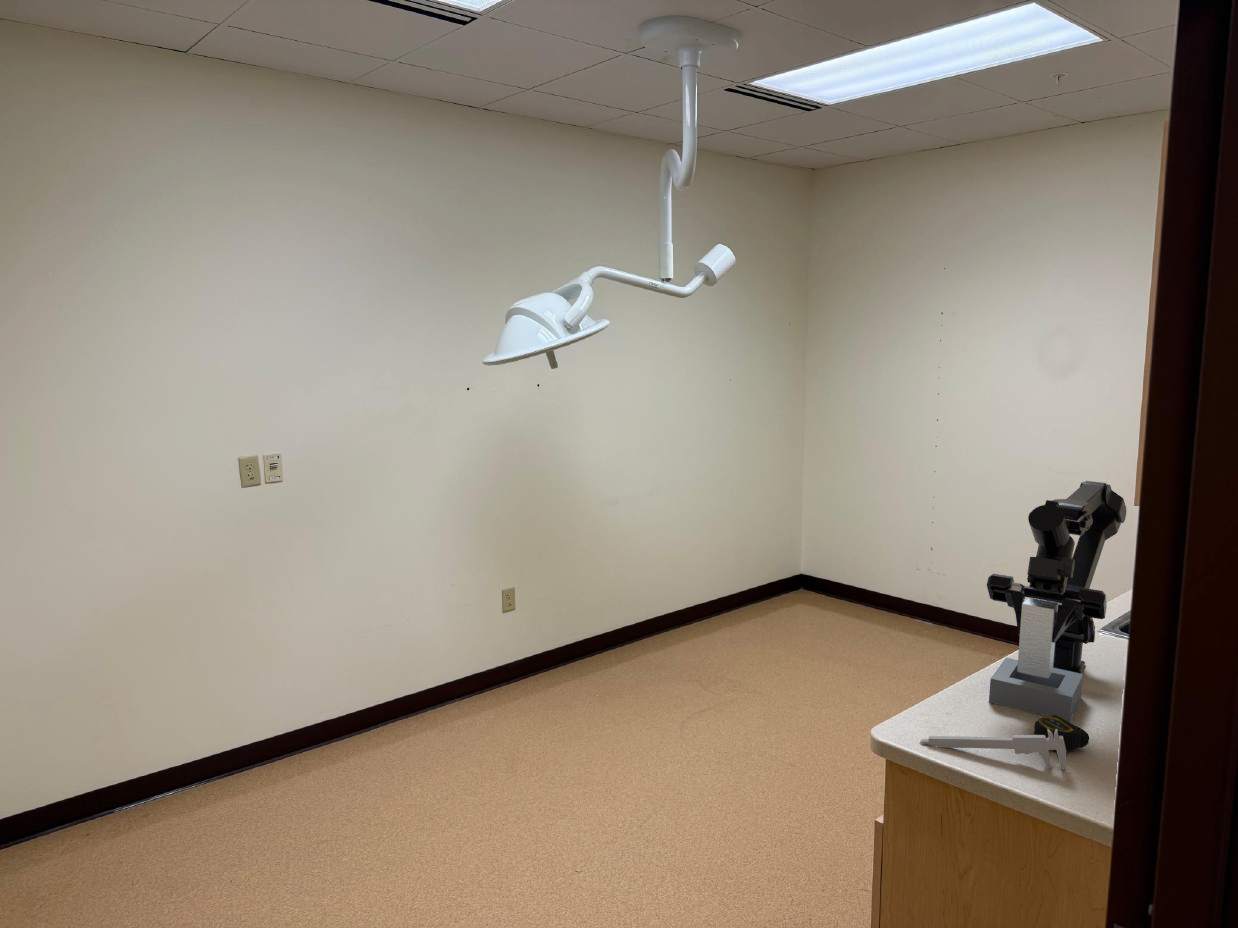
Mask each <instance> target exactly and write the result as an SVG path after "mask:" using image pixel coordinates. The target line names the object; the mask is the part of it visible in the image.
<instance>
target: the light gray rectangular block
mask: <svg viewBox="0 0 1238 928" xmlns="http://www.w3.org/2000/svg"><path fill="white" fill-rule="evenodd" d="M1057 613H1058V603H1055V602H1049V601H1046V600H1040V599H1034V598H1028V597H1025V599H1024V602H1023V604H1022V613H1021V626H1020V636H1019V642H1018V656H1017V660H1018V667H1017V672H1020V673H1025V674H1029V675H1034V676H1039V677H1043V678H1048V679H1049V677H1050V675H1051V673H1052V671H1053V662H1054V650H1055V643H1053V642H1052V636H1053V631H1054V628H1055V625H1056V622H1057Z"/></svg>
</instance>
